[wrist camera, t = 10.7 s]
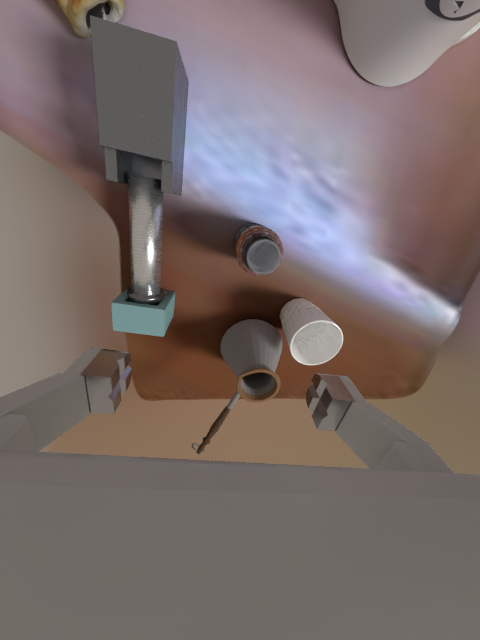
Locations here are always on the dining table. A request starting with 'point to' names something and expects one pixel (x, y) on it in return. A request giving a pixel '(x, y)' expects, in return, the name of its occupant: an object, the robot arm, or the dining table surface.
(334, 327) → the white cup
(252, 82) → the dining table surface
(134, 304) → the socket
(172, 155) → the sleeve
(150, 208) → the tube
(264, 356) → the coffee pot
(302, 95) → the dining table surface
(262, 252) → the supplement bottle
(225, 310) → the dining table surface
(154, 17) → the dining table surface
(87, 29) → the pastry
